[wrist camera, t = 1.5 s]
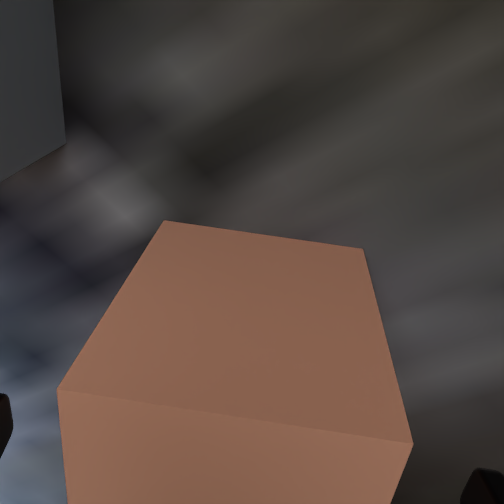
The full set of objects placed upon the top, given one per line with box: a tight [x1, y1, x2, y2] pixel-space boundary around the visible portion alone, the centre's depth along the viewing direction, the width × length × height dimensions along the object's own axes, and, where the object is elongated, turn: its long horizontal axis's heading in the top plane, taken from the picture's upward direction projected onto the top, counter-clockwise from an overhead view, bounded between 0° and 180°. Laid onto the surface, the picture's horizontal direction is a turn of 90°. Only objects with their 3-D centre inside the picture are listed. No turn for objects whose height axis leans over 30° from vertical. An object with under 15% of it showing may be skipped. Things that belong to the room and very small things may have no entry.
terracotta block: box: [57, 220, 413, 504], centre depth 10 cm, size 5×5×6 cm
